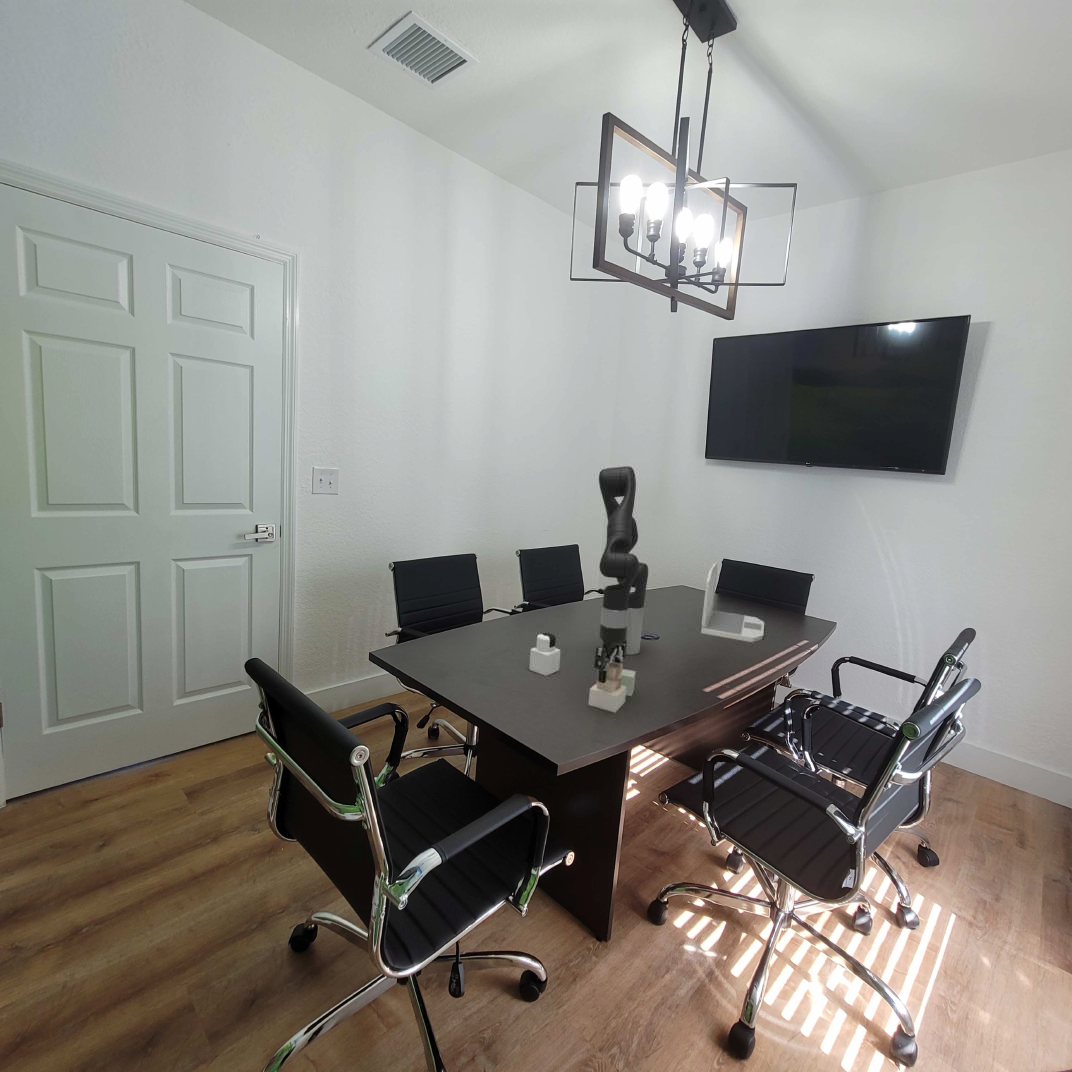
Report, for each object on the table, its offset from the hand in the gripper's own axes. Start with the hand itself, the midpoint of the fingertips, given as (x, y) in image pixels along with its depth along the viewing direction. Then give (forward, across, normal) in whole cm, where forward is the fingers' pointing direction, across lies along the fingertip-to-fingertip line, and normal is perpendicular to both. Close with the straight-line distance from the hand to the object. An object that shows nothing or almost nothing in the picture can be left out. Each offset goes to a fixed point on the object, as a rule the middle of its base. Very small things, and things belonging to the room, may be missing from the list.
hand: (609, 677), depth 155 cm
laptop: (+8, -106, +5) cm, 106 cm away
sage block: (+8, -11, 0) cm, 13 cm away
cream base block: (+8, 0, 0) cm, 8 cm away
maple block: (+3, 0, 0) cm, 3 cm away
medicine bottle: (+8, -7, -27) cm, 29 cm away
